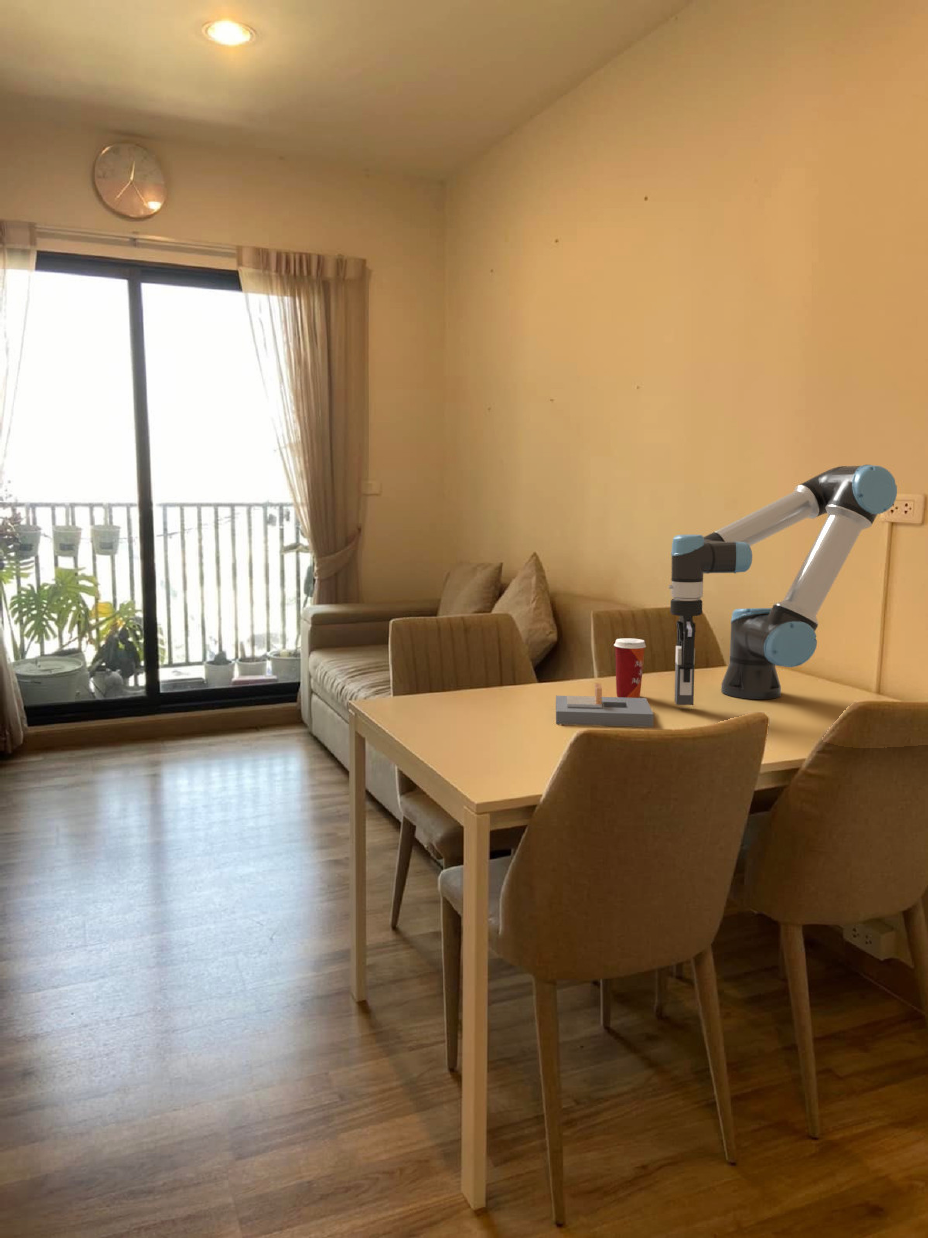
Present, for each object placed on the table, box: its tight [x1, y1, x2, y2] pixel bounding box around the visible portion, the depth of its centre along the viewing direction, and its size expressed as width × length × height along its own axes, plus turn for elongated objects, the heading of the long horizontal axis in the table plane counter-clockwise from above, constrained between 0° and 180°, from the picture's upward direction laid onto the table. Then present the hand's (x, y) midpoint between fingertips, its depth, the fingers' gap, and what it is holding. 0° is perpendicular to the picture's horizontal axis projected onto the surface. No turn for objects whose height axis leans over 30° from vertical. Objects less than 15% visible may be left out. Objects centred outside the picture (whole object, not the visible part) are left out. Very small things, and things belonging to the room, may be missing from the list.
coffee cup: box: [613, 637, 647, 698], centre depth 232 cm, size 8×8×15 cm
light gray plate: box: [565, 682, 603, 708], centre depth 212 cm, size 8×8×4 cm
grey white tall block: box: [674, 645, 696, 706], centre depth 219 cm, size 4×4×14 cm
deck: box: [555, 695, 654, 728], centre depth 212 cm, size 22×16×3 cm
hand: (684, 692), depth 220 cm, fingers closed on grey white tall block, 4 cm apart
